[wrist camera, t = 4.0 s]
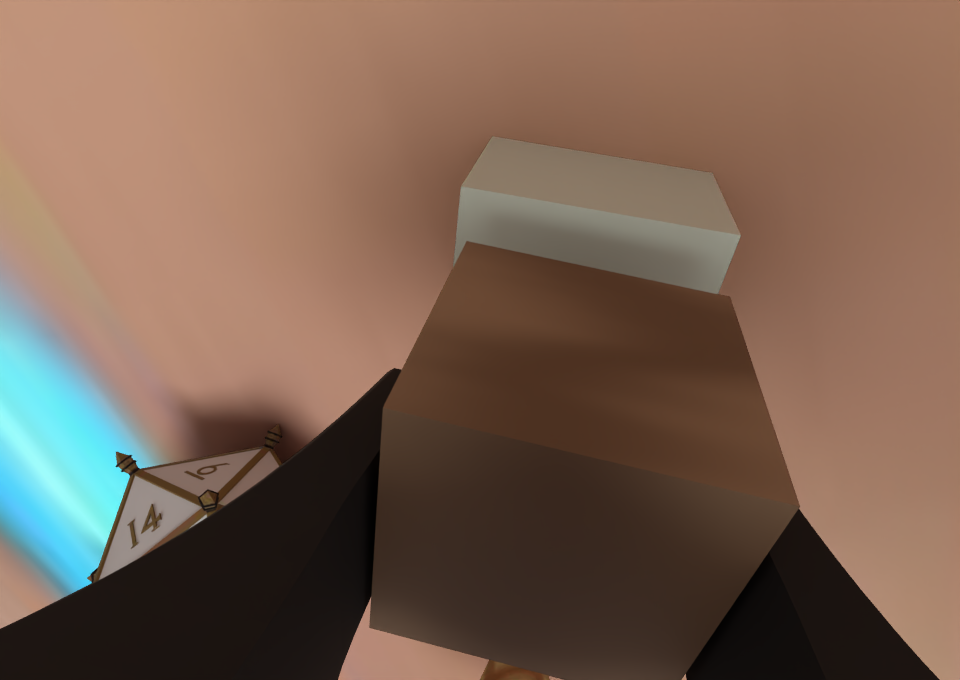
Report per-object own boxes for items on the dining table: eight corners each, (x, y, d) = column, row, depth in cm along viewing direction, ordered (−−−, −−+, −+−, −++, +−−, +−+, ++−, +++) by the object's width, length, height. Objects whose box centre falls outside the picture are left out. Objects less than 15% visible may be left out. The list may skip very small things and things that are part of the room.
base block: (711, 170, 15) (741, 235, 11) (650, 350, 18) (659, 441, 14) (493, 134, 15) (460, 186, 12) (470, 315, 18) (440, 396, 15)
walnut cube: (730, 296, 10) (799, 506, 6) (648, 480, 12) (663, 706, 9) (466, 240, 10) (382, 407, 6) (440, 430, 13) (369, 627, 9)
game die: (268, 396, 27) (-4, 428, 18) (414, 436, 22) (140, 502, 14) (256, 586, 28) (-12, 700, 19) (394, 662, 23) (124, 856, 15)
